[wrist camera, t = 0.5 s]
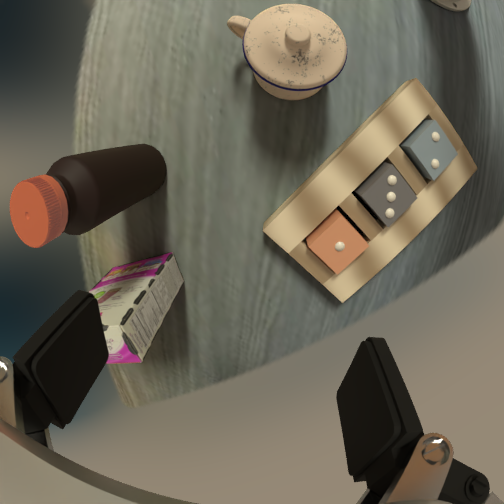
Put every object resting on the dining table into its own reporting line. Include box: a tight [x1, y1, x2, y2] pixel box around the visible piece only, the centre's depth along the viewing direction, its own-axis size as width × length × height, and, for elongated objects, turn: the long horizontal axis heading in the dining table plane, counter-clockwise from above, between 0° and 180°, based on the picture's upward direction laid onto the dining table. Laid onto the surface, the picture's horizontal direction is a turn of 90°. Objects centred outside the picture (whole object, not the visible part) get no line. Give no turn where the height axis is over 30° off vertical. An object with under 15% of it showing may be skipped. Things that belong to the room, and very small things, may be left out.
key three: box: [354, 162, 417, 227], centre depth 28 cm, size 5×5×3 cm
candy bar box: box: [89, 252, 184, 364], centre depth 31 cm, size 11×5×16 cm, turn 106°
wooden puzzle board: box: [263, 78, 477, 303], centre depth 30 cm, size 26×14×3 cm, turn 138°
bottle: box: [10, 144, 166, 248], centre depth 23 cm, size 7×7×20 cm
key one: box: [306, 208, 369, 275], centre depth 31 cm, size 5×5×3 cm
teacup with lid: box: [227, 4, 347, 100], centre depth 21 cm, size 12×9×12 cm
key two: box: [399, 120, 458, 181], centre depth 26 cm, size 5×5×3 cm
